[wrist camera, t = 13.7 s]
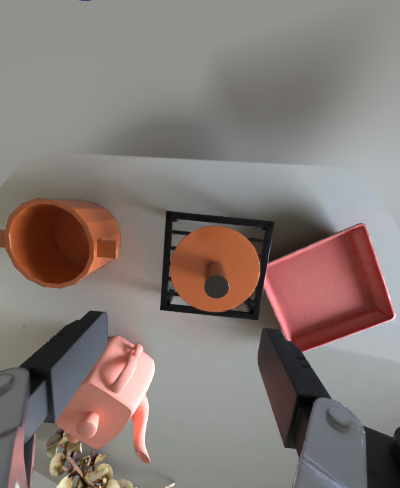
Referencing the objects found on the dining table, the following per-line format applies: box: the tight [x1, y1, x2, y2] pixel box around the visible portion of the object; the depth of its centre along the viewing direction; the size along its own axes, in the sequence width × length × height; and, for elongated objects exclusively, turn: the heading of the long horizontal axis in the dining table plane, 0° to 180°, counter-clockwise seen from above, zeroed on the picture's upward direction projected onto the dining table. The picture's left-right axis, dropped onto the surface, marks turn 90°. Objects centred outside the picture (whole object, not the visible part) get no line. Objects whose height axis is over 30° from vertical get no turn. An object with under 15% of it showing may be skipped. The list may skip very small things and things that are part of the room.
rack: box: [160, 211, 275, 320], centre depth 33 cm, size 16×16×5 cm
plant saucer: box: [263, 223, 395, 353], centre depth 34 cm, size 18×18×3 cm
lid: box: [170, 226, 260, 312], centre depth 27 cm, size 13×13×7 cm
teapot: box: [55, 336, 155, 463], centre depth 34 cm, size 15×17×13 cm
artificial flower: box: [46, 428, 175, 488], centre depth 41 cm, size 10×14×30 cm
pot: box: [0, 198, 121, 288], centre depth 31 cm, size 12×18×8 cm
